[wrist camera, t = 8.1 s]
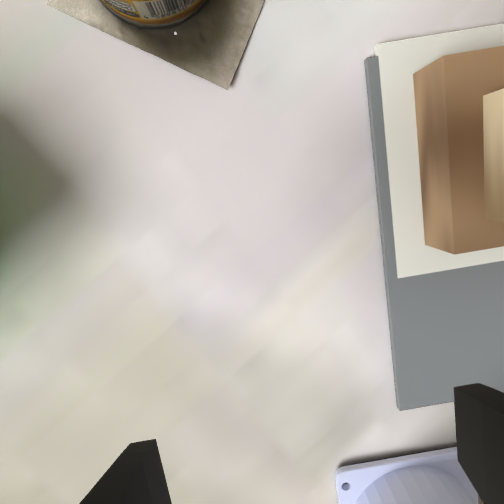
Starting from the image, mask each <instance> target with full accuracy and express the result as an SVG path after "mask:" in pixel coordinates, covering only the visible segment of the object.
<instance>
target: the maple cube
mask: <svg viewBox="0 0 504 504" xmlns="http://www.w3.org/2000/svg"><path fill="white" fill-rule="evenodd" d="M483 130H484V204H485V220H489V221H495V222H502V223H504V88H503V89H500V90H498V91H495V92H492V93H489V94H486V95H483Z"/></svg>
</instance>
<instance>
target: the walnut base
mask: <svg viewBox="0 0 504 504" xmlns="http://www.w3.org/2000/svg"><path fill="white" fill-rule="evenodd" d="M413 82H414V97H415V111H416V125H417V139H418V153H419V168H420V182H421V196H422V210H423V225H424V239H425V245H427V246H430V247H433V248H436V249H439V250H442V251H445V252H448V253H451V254H454V255H455V254H461V253H467V252H473V251H479V250H485V249H491V248H497V247H503V246H504V223H502V222H495V221H489V220H485V204H484V130H483V95H486V94H489V93H492V92H495V91H498V90H500V89H503V88H504V46H498V47H492V48H486V49H480V50H474V51H468V52H461V53H455V54H449V55H443V56H442V57H440V58H438V59H437V60H435V61H434V62H432V63H430V64H429V65H427V66H425V67H424V68H422V69H420V70H419V71H417V72H415V73H414V74H413Z"/></svg>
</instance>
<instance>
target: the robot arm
mask: <svg viewBox="0 0 504 504" xmlns="http://www.w3.org/2000/svg"><path fill="white" fill-rule="evenodd" d="M454 404H455V422H456V440H457V447H452V448H446V449H441V450H435V451H429V452H424V453H418V454H412V455H406V456H401V457H395V458H389V459H383V460H378V461H372V462H366V463H360V464H355V465H349V466H343V467H340V468H338V469H337V470H336V472H335V481H336V489H337V496H338V503H339V504H479V503H478V494H479V496H480V498H481V499H482V501H483V502H484V504H504V393H503V392H501V391H498V390H496V389H494V388H491V387H489V386H486V385H483V384H481V383H474V384H469V385H463V386H457V387H454ZM343 483H347V484H345V485H342V484H343ZM80 504H172V503H171V499H170V495H169V491H168V487H167V483H166V479H165V475H164V471H163V467H162V463H161V459H160V455H159V451H158V446H157V442H156V439H153V440H147V441H141V442H136V443H130V444H129V445H128V447H127V448H126V449H125V450H124V451H123V452H122V453H121V455H120V456H119V457H118V458H117V459H116V461H115V462H114V463H113V464H112V465H111V467H110V468H109V469H108V470H107V471H106V473H105V474H104V475H103V476H102V477H101V479H100V480H99V481H98V482H97V483H96V485H95V486H94V487H93V488H92V489H91V491H90V492H89V493H88V494H87V495H86V496H85V498H84V499H83V500H82V501H81V502H80Z"/></svg>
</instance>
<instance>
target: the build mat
mask: <svg viewBox="0 0 504 504" xmlns="http://www.w3.org/2000/svg"><path fill="white" fill-rule="evenodd" d="M498 46H504V23H502V24H496V25H490V26H483V27H477V28H471V29H465V30H459V31H453V32H447V33H440V34H434V35H428V36H422V37H416V38H410V39H404V40H397V41H391V42H385V43H379V44H377V45H376V46H375V47H374V53H375V57H369V58H367V59H365V60H364V62H365V73H366V83H367V94H368V105H369V115H370V126H371V137H372V147H373V158H374V168H375V179H376V190H377V200H378V211H379V222H380V232H381V243H382V254H383V264H384V275H385V285H386V296H387V307H388V317H389V328H390V339H391V349H392V360H393V370H394V381H395V392H396V402H397V407H398V409H399V410H400V411H402V410H408V409H414V408H420V407H425V406H431V405H437V404H443V403H449V402H454V387H457V386H463V385H469V384H474V383H481V384H483V385H486V386H489V387H491V388H494V389H496V390H498V391H501V392H503V393H504V246H503V247H497V248H491V249H485V250H479V251H473V252H467V253H461V254H455V255H454V254H451V253H448V252H445V251H442V250H439V249H436V248H433V247H430V246H427V245H425V239H424V225H423V210H422V196H421V182H420V168H419V153H418V139H417V125H416V111H415V97H414V82H413V74H414V73H415V72H417V71H419V70H420V69H422V68H424V67H425V66H427V65H429V64H430V63H432V62H434V61H435V60H437V59H438V58H440V57H442V56H443V55H449V54H455V53H461V52H468V51H474V50H480V49H486V48H492V47H498Z"/></svg>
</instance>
